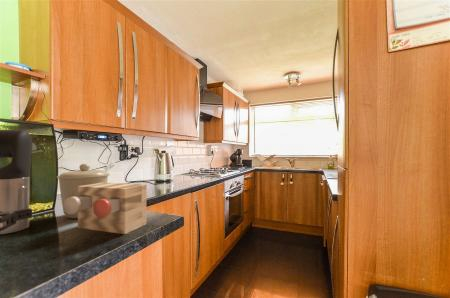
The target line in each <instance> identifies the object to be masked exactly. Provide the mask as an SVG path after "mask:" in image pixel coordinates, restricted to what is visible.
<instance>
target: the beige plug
mask: <svg viewBox="0 0 450 298" xmlns="http://www.w3.org/2000/svg"><path fill="white" fill-rule="evenodd" d="M91 206H92V196H81V197H75V196H74V197H69V198H67V199H66V200H65V202H64V209H65V211H66V212H67V213H68V214H74V213H77V212H79V211H80V210H84V209H88V208H91Z"/></svg>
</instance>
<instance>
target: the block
mask: <svg viewBox="0 0 450 298" xmlns="http://www.w3.org/2000/svg"><path fill="white" fill-rule="evenodd" d="M81 196H92V206H91V208H88V209H84V210H80V211H79V212H78V218H77V228H78V229H84V230H91V231H99V232H107V233H115V234H122V235H126V234H128V233H131V232H133V231H135V230H136V229H139V228H141V227H143V226H145V225H147V184H144V183H127V182H126V183H123V182H121V183H120V182H107V183H97V184H90V185H84V186H78V197H81ZM110 198H120V210H119V211H116V212H113V213H110V214H109V215H107V216H105V217H102V218H99V217H97V216H96V215H95V214H94V211H93V205H94V203H95V201H97V200H100V199H110Z"/></svg>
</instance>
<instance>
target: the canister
mask: <svg viewBox="0 0 450 298" xmlns="http://www.w3.org/2000/svg"><path fill="white" fill-rule="evenodd" d="M90 167H91V166H90V164H88V163H81V164H80V165H79V170H73V171H71V170H70V171H65V172H62V173H61V174H59V175H56V179H57V180H58V182H59V183H58V184H59V192H60V198H61V205H62V211H63V214H64V216H65V217H66V218H69V219H78V212H77V213H74V214H68V213H67V212H66V211H65V209H64V202H65V200H66V199H67V198H69V197H74V196H75V197H78V186H84V185H90V184H97V183H108V180H109V179H108V178H109V176H110V175H111V174H110V173H109V172H107V171H105V170H100V169H99V170H97V169H90Z"/></svg>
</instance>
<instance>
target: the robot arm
mask: <svg viewBox="0 0 450 298" xmlns="http://www.w3.org/2000/svg"><path fill="white" fill-rule="evenodd" d="M32 153H33V139H32V136H31V134H30V132H29V131H27V130H22V129H20V130H19V129H18V130H17V129H16V130H15V129H0V159H1V158H5V159H7V158H9V159H10V158H11V161H10V163H8V164H6V165H4V166H2V167H0V235H5V234H10V233H11V234H12V233H16V232H20V231H22V230H26V229H28V228H29V227H30V218H32V217H33V209H32V208H30V174H31V173H30V172H31V168H32V167H31V166H32Z"/></svg>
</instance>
